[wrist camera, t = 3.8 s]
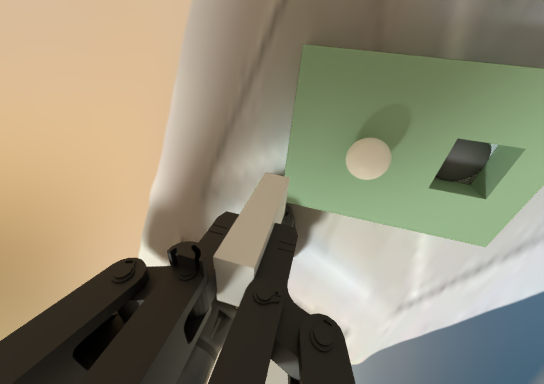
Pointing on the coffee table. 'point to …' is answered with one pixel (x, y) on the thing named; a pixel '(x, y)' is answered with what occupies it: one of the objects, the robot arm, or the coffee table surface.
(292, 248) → the robot arm
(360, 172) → the golf ball
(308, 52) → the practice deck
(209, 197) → the coffee table surface
